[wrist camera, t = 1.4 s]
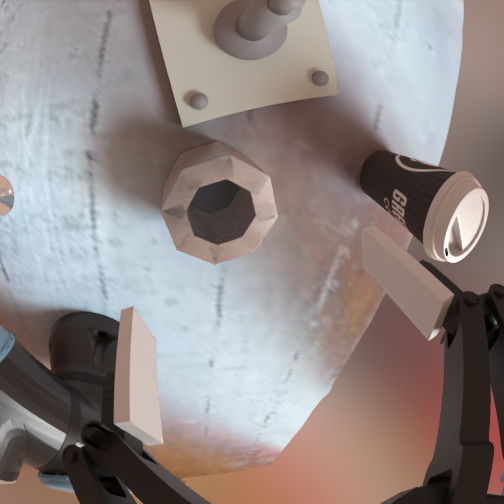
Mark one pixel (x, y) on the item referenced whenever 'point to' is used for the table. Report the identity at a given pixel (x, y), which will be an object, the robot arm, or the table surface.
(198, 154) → the hub
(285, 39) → the shaft block
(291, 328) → the table surface
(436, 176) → the coffee cup
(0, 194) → the wineglass
